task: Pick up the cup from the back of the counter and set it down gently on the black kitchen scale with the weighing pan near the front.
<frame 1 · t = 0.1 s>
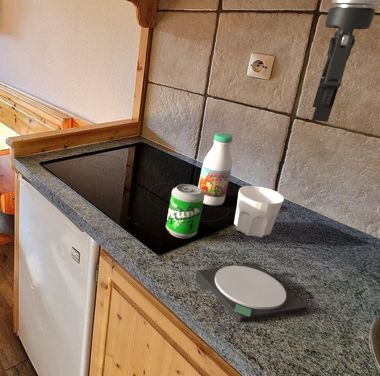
hand: (319, 113, 88), 31 cm above the worktop, tool pointing down, fingers open, 13 cm apart
cup: (251, 229, 104), on the worktop
soda can: (180, 232, 102), on the worktop
milk bottle: (209, 200, 119), on the worktop
scale: (246, 297, 80), on the worktop
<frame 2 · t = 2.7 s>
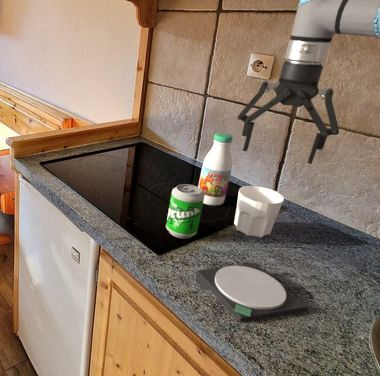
hand: (276, 155, 95), 20 cm above the worktop, tool pointing down, fingers open, 13 cm apart
nothing on the worktop moved.
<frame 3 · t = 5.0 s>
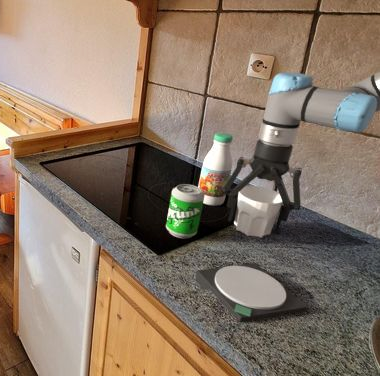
hand: (252, 224, 104), 1 cm above the worktop, tool pointing down, fingers closed on cup, 10 cm apart
cup: (251, 229, 104), on the worktop, touching gripper
everything else where it was.
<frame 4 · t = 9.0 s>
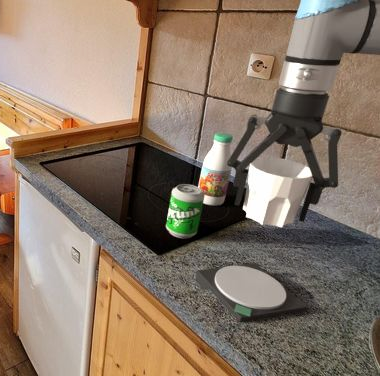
hand: (268, 210, 75), 18 cm above the worktop, tool pointing down, fingers closed on cup, 10 cm apart
cup: (266, 216, 76), point 16 cm above the worktop, touching gripper
everything else where it was.
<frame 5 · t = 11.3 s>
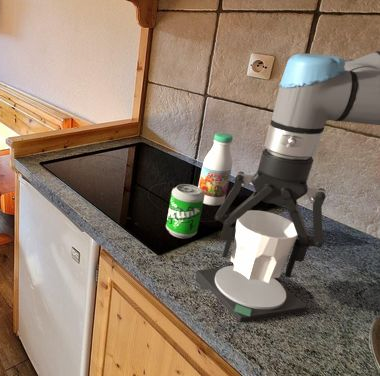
hand: (255, 263, 76), 8 cm above the worktop, tool pointing down, fingers closed on cup, 10 cm apart
cup: (253, 269, 77), point 7 cm above the worktop, touching gripper
everything else where it was.
when the fingers open (4 cm above the worktop, at t = 12.9 s): cup stays where it is, resting on scale.
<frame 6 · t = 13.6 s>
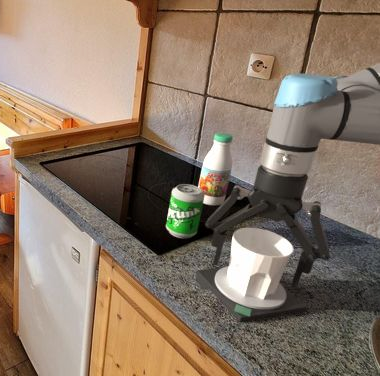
hand: (253, 272, 77), 6 cm above the worktop, tool pointing down, fingers open, 13 cm apart
cup: (249, 285, 79), point 3 cm above the worktop, touching scale
everything else where it was.
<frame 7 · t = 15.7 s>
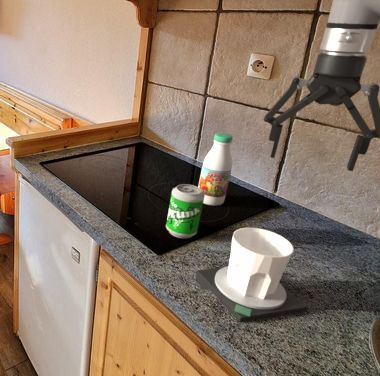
hand: (309, 162, 83), 23 cm above the worktop, tool pointing down, fingers open, 13 cm apart
nothing on the worktop moved.
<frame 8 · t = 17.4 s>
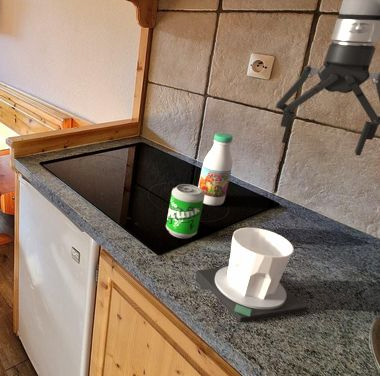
hand: (319, 147, 87), 25 cm above the worktop, tool pointing down, fingers open, 13 cm apart
nothing on the worktop moved.
at the end: cup inside the target area on the scale (0.0 cm from its centre), point 2.8 cm above the scale's base; cup tilted 0°; the gripper is holding nothing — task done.
